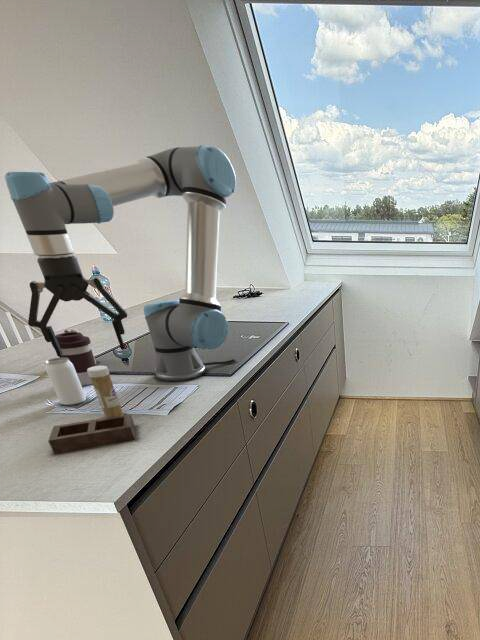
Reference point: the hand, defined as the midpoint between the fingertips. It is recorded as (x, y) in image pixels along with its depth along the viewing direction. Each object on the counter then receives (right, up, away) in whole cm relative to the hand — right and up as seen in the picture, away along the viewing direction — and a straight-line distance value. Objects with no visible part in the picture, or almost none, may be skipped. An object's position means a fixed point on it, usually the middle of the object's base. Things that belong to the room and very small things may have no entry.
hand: (92, 351), depth 113 cm
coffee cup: (-25, 0, +33) cm, 41 cm away
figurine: (-37, +11, +49) cm, 62 cm away
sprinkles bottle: (0, -15, +9) cm, 18 cm away
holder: (+3, -22, -3) cm, 23 cm away
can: (-18, -9, +18) cm, 27 cm away
